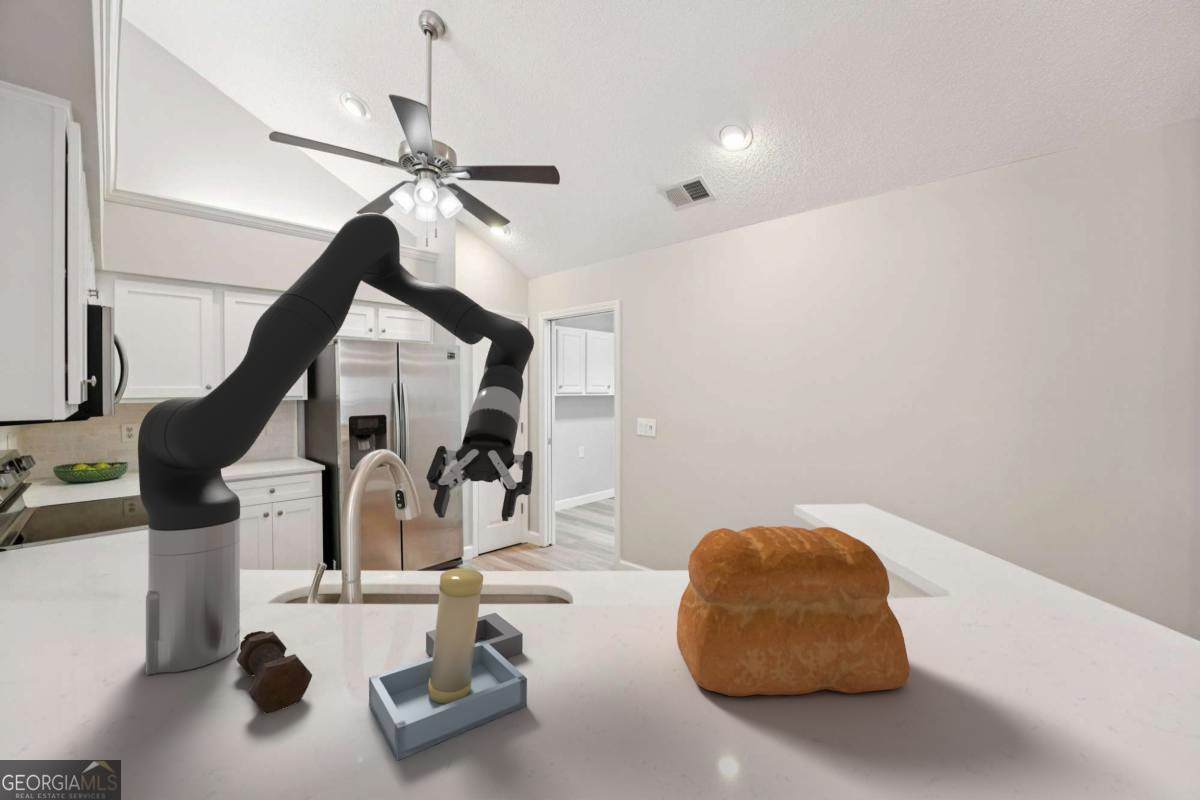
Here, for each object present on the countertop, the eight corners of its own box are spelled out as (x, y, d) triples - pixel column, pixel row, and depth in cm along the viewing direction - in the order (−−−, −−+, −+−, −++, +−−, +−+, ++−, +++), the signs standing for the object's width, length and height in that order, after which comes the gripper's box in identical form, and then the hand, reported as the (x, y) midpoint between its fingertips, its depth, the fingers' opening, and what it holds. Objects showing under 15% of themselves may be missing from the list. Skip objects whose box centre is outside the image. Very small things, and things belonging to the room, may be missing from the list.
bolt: (261, 669, 65) (291, 719, 54) (219, 662, 62) (242, 713, 51) (287, 623, 67) (320, 662, 56) (247, 614, 64) (275, 654, 53)
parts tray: (397, 760, 46) (397, 728, 46) (369, 704, 54) (369, 676, 54) (526, 705, 54) (526, 678, 54) (484, 664, 63) (484, 640, 63)
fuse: (444, 709, 53) (458, 589, 52) (419, 689, 55) (431, 575, 55) (479, 690, 56) (491, 578, 56) (453, 672, 59) (465, 565, 58)
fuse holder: (448, 678, 60) (448, 657, 60) (425, 651, 66) (426, 632, 66) (522, 652, 66) (522, 633, 66) (495, 629, 72) (495, 612, 72)
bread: (925, 698, 57) (926, 546, 57) (699, 706, 55) (700, 550, 55) (847, 632, 72) (848, 514, 72) (669, 637, 70) (670, 516, 70)
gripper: (540, 440, 80) (527, 533, 69) (451, 435, 80) (423, 527, 69) (538, 409, 74) (524, 505, 63) (443, 403, 74) (411, 498, 63)
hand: (472, 516), depth 66 cm, fingers open, 8 cm apart
